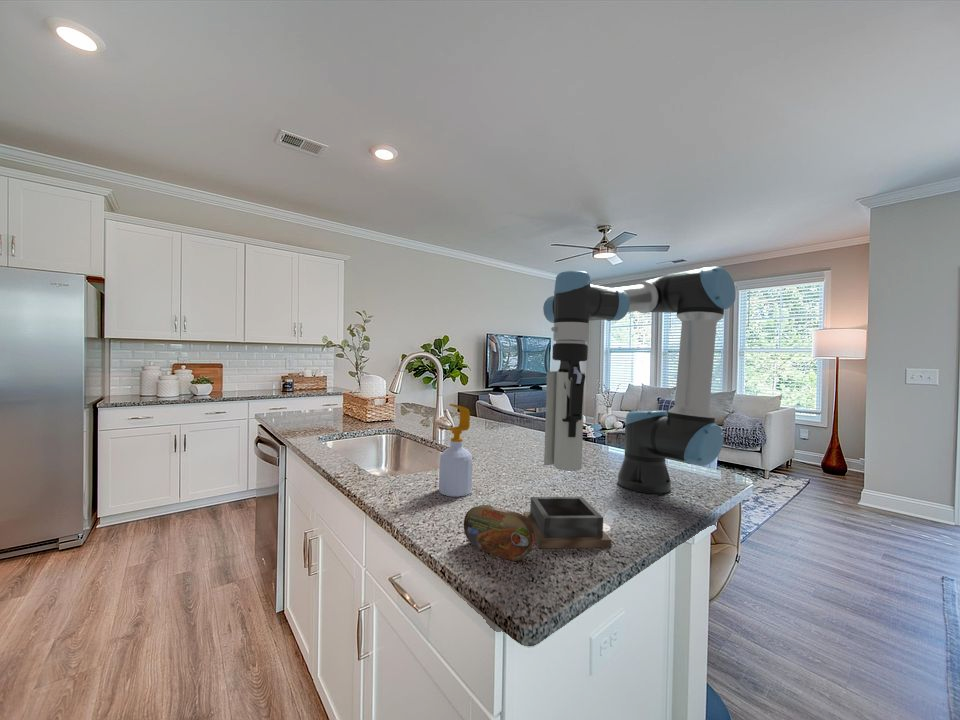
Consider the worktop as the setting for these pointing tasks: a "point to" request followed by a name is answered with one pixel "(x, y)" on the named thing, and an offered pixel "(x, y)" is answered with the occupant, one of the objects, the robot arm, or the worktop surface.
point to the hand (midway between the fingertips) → (566, 449)
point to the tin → (499, 532)
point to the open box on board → (566, 523)
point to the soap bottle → (456, 461)
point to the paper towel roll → (561, 426)
